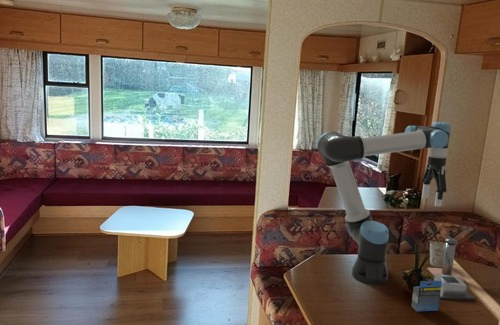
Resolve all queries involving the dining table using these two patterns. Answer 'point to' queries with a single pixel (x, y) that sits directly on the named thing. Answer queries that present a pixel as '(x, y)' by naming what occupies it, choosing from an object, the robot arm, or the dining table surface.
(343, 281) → the dining table surface
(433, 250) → the mug
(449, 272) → the key peg
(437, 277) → the chuck block
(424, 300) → the label tape cartridge
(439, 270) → the rubber mat
